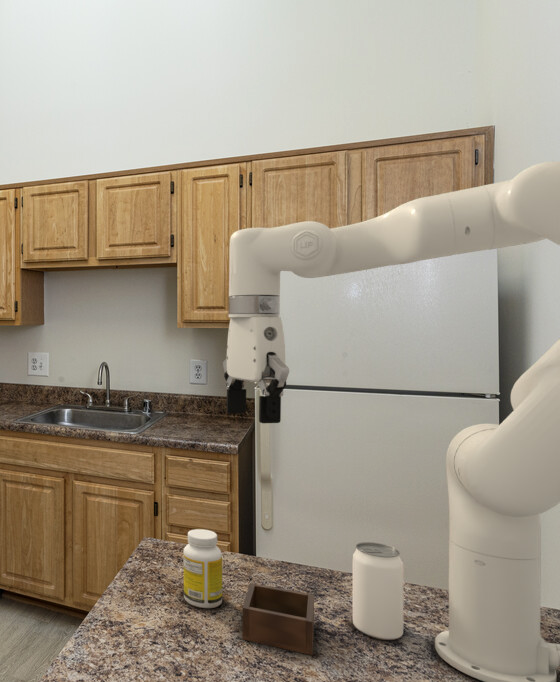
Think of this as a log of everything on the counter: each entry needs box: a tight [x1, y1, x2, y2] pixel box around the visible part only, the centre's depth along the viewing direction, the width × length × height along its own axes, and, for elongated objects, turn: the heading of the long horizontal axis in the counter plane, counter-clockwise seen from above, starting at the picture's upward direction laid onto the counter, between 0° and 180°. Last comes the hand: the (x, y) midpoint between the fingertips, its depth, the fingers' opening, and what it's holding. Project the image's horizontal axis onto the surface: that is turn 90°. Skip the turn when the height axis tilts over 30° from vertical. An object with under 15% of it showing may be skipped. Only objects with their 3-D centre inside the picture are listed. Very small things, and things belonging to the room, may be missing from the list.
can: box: [352, 541, 404, 641], centre depth 83 cm, size 6×6×12 cm
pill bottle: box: [182, 528, 223, 609], centre depth 92 cm, size 6×6×11 cm
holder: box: [242, 582, 315, 656], centre depth 82 cm, size 9×9×5 cm
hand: (252, 417), depth 88 cm, fingers open, 9 cm apart
